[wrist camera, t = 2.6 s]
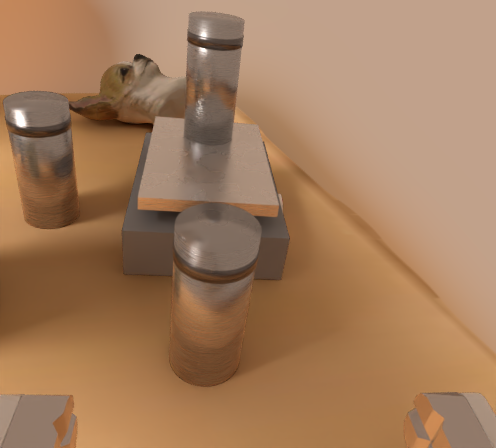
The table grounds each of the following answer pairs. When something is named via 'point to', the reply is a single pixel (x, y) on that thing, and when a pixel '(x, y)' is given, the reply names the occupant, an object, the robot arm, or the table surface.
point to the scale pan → (206, 171)
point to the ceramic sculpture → (135, 94)
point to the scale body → (162, 234)
